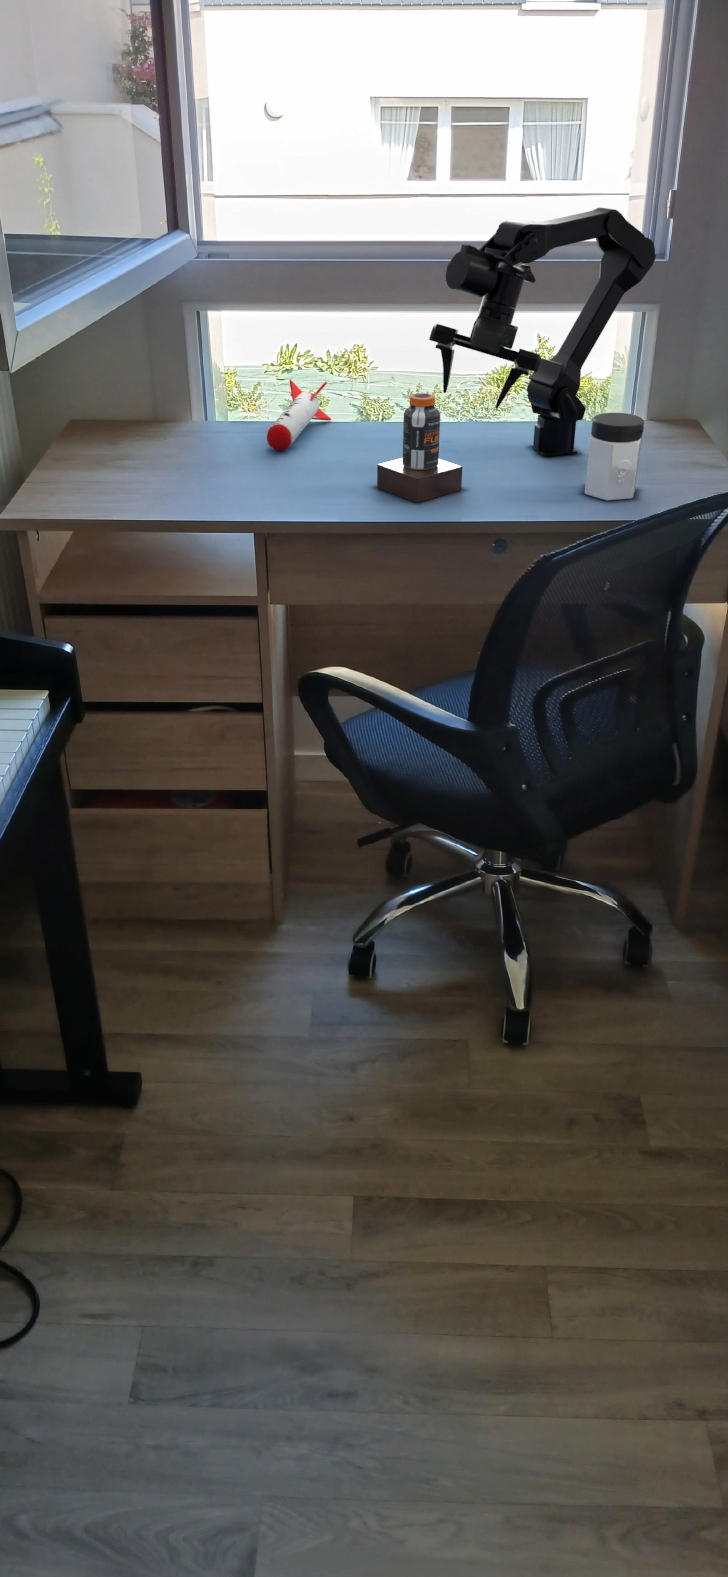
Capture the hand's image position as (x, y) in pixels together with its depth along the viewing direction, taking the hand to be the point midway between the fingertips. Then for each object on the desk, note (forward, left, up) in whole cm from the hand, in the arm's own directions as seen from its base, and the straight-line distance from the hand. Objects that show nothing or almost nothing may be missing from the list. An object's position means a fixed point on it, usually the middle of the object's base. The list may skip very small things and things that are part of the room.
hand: (470, 400), depth 195 cm
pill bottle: (+11, +8, -8) cm, 16 cm away
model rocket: (+25, -28, -12) cm, 39 cm away
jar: (-19, +18, -12) cm, 29 cm away
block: (+11, +8, -12) cm, 18 cm away
